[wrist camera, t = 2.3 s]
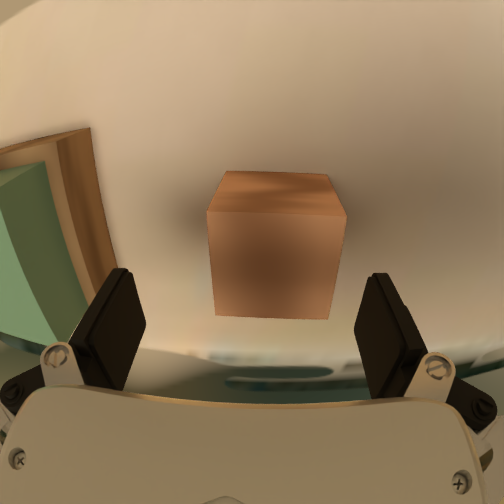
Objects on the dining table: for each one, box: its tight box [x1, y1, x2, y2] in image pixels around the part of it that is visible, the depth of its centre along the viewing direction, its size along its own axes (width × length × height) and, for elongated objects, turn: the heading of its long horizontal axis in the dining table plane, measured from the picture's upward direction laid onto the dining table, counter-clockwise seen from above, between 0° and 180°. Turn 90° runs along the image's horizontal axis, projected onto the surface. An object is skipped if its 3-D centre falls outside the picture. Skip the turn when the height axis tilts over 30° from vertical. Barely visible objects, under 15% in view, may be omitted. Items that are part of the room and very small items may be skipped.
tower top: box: [0, 161, 89, 346], centre depth 14 cm, size 8×10×4 cm
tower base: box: [0, 128, 118, 316], centre depth 17 cm, size 10×12×4 cm
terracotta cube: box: [206, 171, 347, 319], centre depth 15 cm, size 6×6×6 cm
